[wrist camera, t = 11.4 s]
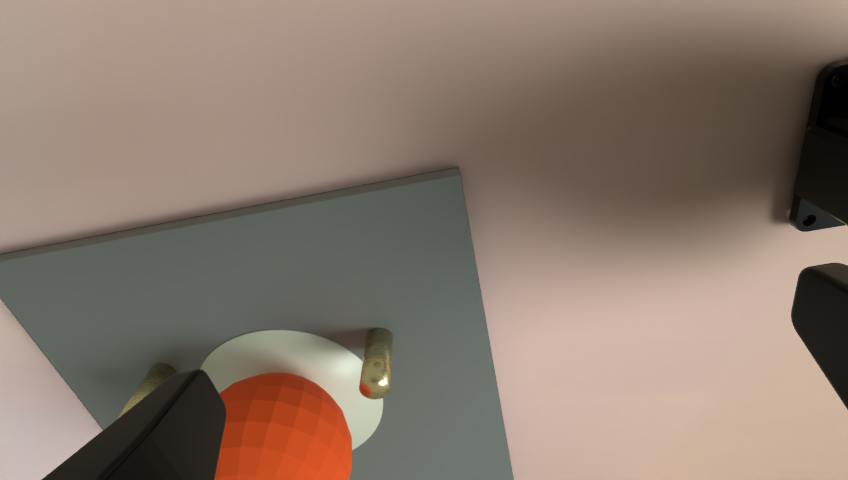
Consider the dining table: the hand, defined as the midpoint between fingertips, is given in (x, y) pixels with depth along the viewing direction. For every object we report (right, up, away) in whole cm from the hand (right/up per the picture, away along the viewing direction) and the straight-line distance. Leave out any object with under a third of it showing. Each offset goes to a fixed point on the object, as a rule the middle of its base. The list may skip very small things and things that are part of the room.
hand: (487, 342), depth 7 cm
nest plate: (-7, -6, +17) cm, 20 cm away
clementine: (-7, -6, +16) cm, 19 cm away
